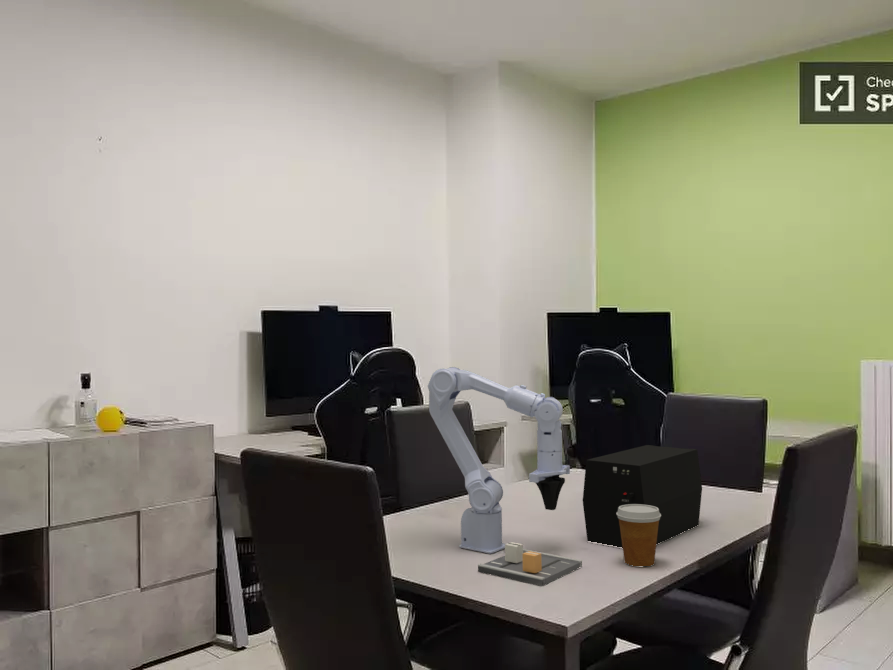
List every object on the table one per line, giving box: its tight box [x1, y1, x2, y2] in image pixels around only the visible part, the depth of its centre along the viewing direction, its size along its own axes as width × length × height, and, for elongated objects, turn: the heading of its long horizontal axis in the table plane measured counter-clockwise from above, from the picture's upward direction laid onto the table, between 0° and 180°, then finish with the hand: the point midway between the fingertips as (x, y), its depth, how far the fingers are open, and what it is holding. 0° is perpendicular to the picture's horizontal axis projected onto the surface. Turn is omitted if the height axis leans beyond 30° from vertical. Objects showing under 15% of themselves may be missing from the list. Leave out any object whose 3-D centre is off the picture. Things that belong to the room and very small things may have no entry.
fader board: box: [477, 548, 583, 587], centre depth 165 cm, size 16×16×2 cm
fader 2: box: [523, 551, 542, 573], centre depth 159 cm, size 3×2×4 cm
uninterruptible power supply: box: [582, 444, 703, 548], centre depth 193 cm, size 16×34×20 cm, turn 139°
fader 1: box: [504, 541, 524, 563], centre depth 166 cm, size 3×2×4 cm
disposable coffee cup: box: [616, 504, 661, 567], centre depth 168 cm, size 10×10×12 cm
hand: (550, 509), depth 178 cm, fingers closed
